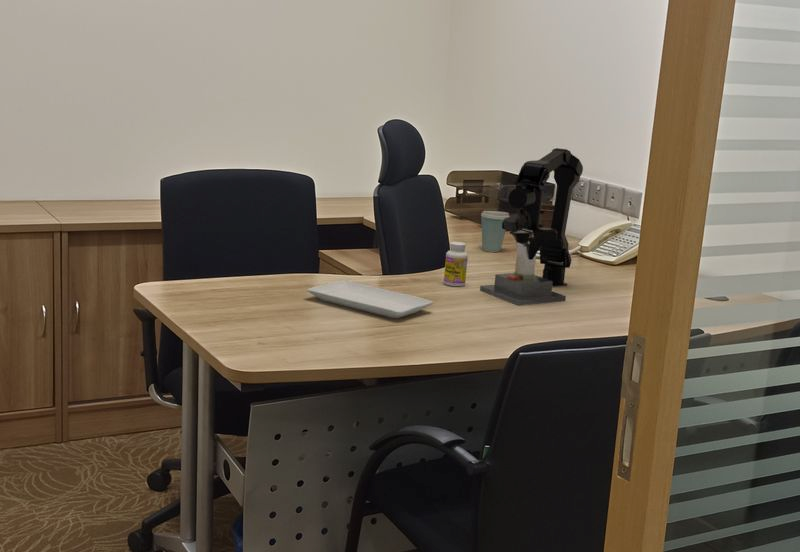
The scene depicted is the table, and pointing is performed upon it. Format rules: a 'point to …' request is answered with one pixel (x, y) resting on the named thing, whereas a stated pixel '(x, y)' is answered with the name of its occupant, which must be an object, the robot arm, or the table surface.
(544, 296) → the red button base
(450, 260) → the supplement bottle
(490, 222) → the disposable coffee cup
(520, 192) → the robot arm
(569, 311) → the table surface
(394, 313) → the tray
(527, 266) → the column
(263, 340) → the table surface
